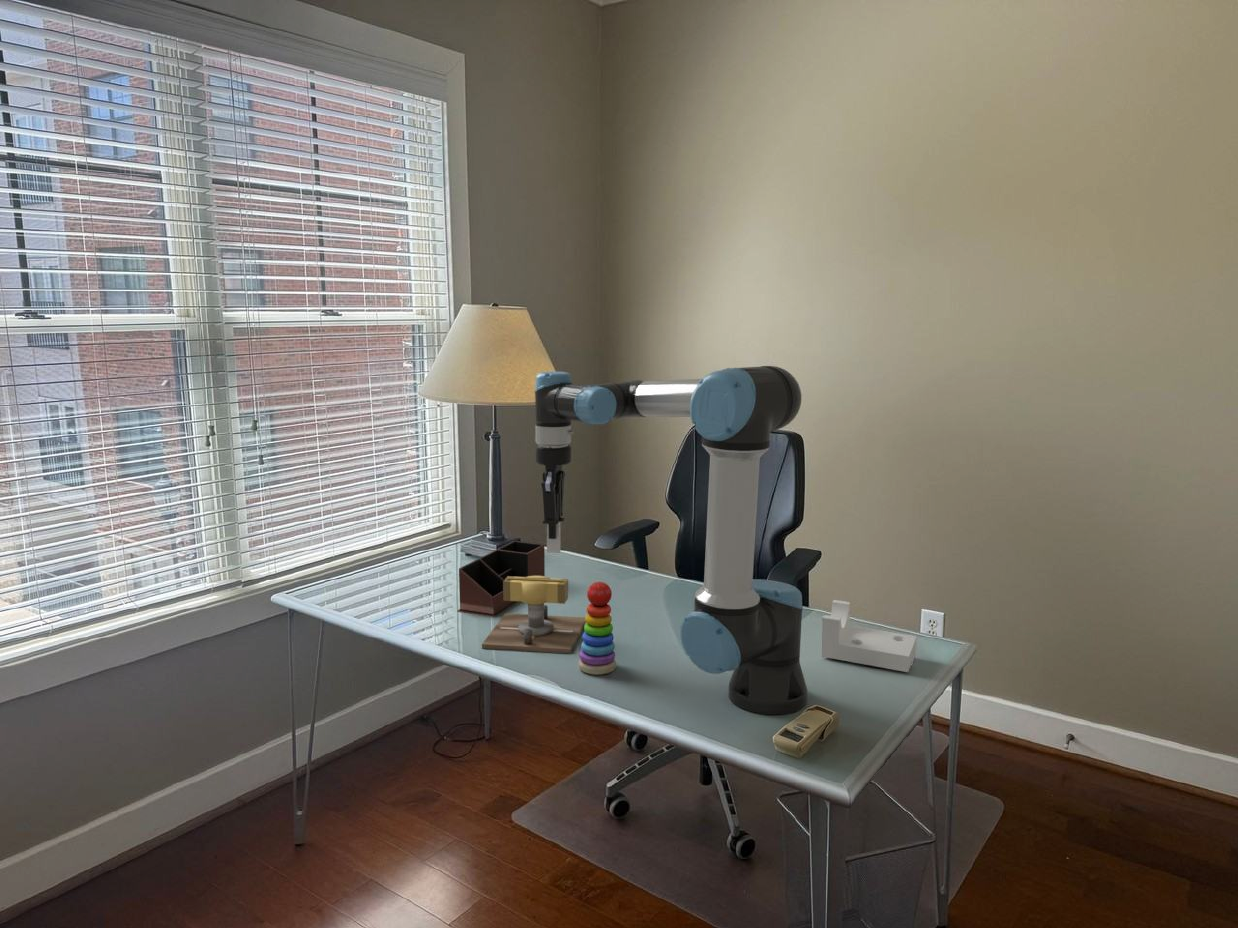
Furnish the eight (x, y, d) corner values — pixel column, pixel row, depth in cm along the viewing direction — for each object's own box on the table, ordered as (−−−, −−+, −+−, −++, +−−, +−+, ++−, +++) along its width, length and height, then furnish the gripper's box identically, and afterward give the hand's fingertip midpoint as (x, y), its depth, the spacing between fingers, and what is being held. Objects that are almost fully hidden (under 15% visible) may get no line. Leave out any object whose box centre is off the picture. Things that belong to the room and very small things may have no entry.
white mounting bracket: (821, 661, 193) (822, 617, 190) (832, 642, 201) (833, 599, 198) (907, 677, 185) (910, 631, 182) (915, 656, 193) (917, 612, 190)
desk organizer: (547, 583, 244) (547, 543, 242) (494, 618, 217) (493, 573, 215) (513, 579, 248) (512, 539, 246) (456, 612, 221) (455, 568, 219)
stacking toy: (602, 679, 182) (603, 591, 178) (570, 670, 186) (570, 584, 183) (623, 666, 188) (624, 581, 185) (591, 658, 192) (591, 574, 189)
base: (570, 653, 195) (570, 617, 193) (481, 648, 198) (481, 612, 196) (586, 621, 214) (586, 588, 213) (505, 617, 217) (504, 584, 216)
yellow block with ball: (569, 595, 207) (569, 575, 206) (563, 605, 200) (563, 585, 199) (509, 592, 209) (509, 573, 208) (501, 602, 202) (501, 582, 201)
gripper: (564, 450, 183) (564, 561, 187) (576, 440, 195) (576, 544, 200) (529, 449, 184) (529, 559, 188) (542, 439, 196) (543, 542, 201)
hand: (553, 551), depth 194 cm, fingers closed
